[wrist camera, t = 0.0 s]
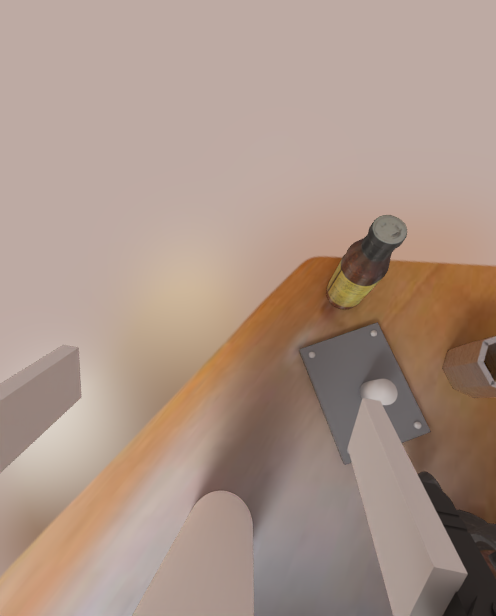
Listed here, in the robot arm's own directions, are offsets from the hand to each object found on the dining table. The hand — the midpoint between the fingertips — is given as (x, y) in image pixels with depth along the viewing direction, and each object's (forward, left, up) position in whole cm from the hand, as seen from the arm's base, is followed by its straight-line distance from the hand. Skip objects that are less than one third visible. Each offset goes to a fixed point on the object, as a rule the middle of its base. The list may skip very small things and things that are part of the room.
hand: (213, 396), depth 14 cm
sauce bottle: (+12, -23, -36) cm, 44 cm away
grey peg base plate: (-4, -19, -36) cm, 41 cm away
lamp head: (-7, -39, -36) cm, 53 cm away
